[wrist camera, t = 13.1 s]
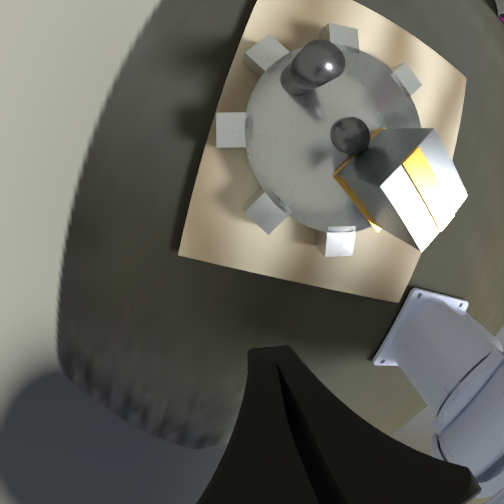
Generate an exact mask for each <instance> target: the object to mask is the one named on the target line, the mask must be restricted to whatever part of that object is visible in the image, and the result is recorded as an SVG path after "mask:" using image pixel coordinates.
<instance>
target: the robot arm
mask: <svg viewBox="0 0 504 504" xmlns="http://www.w3.org/2000/svg"><path fill="white" fill-rule="evenodd" d="M418 294H419V295H418ZM417 295H418V296H417ZM467 307H468V302H467V301H466V300H462V299H458V298H455V297H451V296H447V295H443V294H439V293H435V292H431V291H427V290H423V289H419V288H413V289H412V290H411V291H410V292H409V294H408V297H407V299H406V301H405V303H404V305H403V307H402V309H401V310H400V312H399V314H398V316H397V318H396V320H395V322H394V324H393V326H392V327H391V329H390V331H389V333H388V335H387V336H386V338H385V340H384V342H383V343H382V345H381V347H380V348H379V350H378V352H377V353H376V355H375V357H374V358H373V360H372V362H373V363H374V365H391V366H399V367H400V368H401V369H402V371H403V372H404V373H405V375H406V376H407V378H408V379H409V380H410V382H411V383H412V384H413V386H414V387H415V389H416V390H417V391H418V393H419V394H420V396H421V397H422V398H423V400H424V401H425V403H426V404H427V406H428V407H429V408H430V410H431V411H432V413H433V414H434V416H435V417H436V419H435V420H434V421H433V422H432V423H431V426H432V427H433V429H434V430H435V431H436V433H435V434H434V435H433V437H432V440H431V452H432V456H429V455H426V454H424V453H421V452H419V451H417V450H414V449H412V448H411V447H409V446H407V445H405V444H403V443H401V442H399V441H397V440H395V439H393V438H391V437H390V436H388V435H386V434H385V433H383V432H382V431H380V430H378V429H377V428H375V427H374V426H372V425H371V424H369V423H368V422H367V421H365V420H364V419H362V418H361V417H360V416H358V415H357V414H356V413H355V412H353V411H352V410H351V409H350V408H348V407H347V406H346V405H345V404H344V403H343V402H342V401H340V400H339V399H338V398H337V397H336V396H335V395H334V394H333V393H332V392H331V391H330V390H329V389H328V388H327V387H326V386H325V385H324V384H323V383H322V382H321V381H320V380H319V379H318V378H317V377H316V376H315V375H314V374H313V373H312V372H311V371H310V369H309V368H308V367H307V366H306V365H305V364H304V362H303V361H302V360H301V359H300V358H299V356H298V355H297V354H296V353H295V351H294V350H293V349H292V348H291V347H290V346H289V345H286V346H276V347H266V348H254V349H250V350H249V351H248V376H247V382H246V387H245V392H244V397H243V401H242V405H241V408H240V411H239V415H238V418H237V422H236V425H235V427H234V430H233V433H232V436H231V438H230V441H229V443H228V445H227V448H226V450H225V453H224V455H223V457H222V459H221V461H220V463H219V465H218V467H217V469H216V471H215V473H214V475H213V477H212V479H211V481H210V482H209V484H208V486H207V488H206V489H205V491H204V492H203V494H202V496H201V497H200V499H199V501H198V502H197V504H466V503H467V502H468V501H470V500H471V499H473V498H474V497H476V498H484V497H490V496H493V497H491V498H490V499H489V500H488V501H487V502H485V503H484V504H504V352H503V349H502V347H501V344H500V342H499V341H498V340H497V339H496V338H495V337H494V336H493V335H492V334H491V333H490V332H489V331H487V330H486V329H485V328H484V327H483V326H482V325H480V324H479V323H478V322H477V321H476V320H475V319H473V318H472V317H471V316H470V315H469V314H467V313H466V312H465V311H466V309H467Z"/></svg>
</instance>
